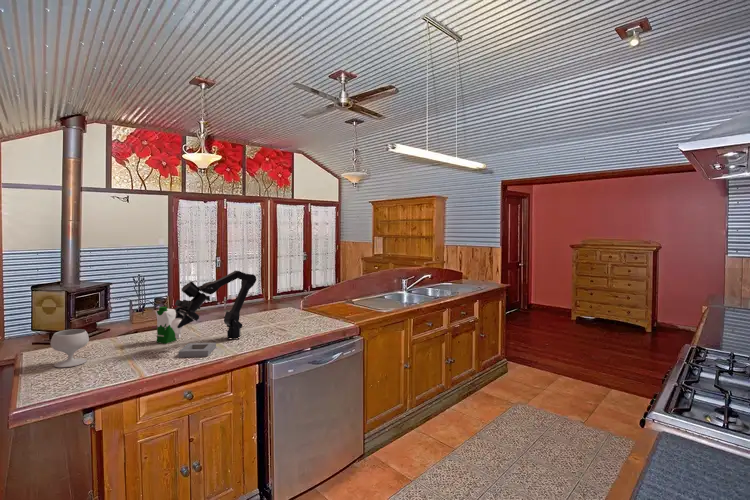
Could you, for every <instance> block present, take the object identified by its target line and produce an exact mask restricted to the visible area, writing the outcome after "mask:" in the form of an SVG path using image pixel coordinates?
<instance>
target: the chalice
mask: <svg viewBox="0 0 750 500" xmlns="http://www.w3.org/2000/svg"><path fill="white" fill-rule="evenodd" d="M89 341H90V337H89V334H88V332H87V331H86V329H84V328H83V329H82V328H74V329H64V330H60V331H57V332H54V333H53V335H52V337H51V339H50V347H51V348H52V349H53V350H55V351H57V352H60V353H64V354H66V355H67V359H65V360H61V361H58V362H56V363H55V364H54V365H53V367H55V368H70V367H76V366H80V365H83V364H85V363H87V362H88V359H87V358H83V357H82V358H81V357H79V358H74V354H75V353H76V352H77V351H79V350H81V349H82V348H84V347H85V346H86V345H88V343H89Z"/></svg>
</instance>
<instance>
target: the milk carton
mask: <svg viewBox="0 0 750 500" xmlns="http://www.w3.org/2000/svg"><path fill="white" fill-rule="evenodd" d="M174 309H175V308H168V306H159V307H158V310H155V311H154V312H155V316H156V331H157V332H156V334H157V335H156V343H157V344H165V345H166V344H169V343H173V342H177V338H175V332H174V330H173V328H172V327H171V322H172V321H173V320H174V319H175V317H176V312H175V310H174Z"/></svg>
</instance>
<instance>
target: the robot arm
mask: <svg viewBox="0 0 750 500" xmlns="http://www.w3.org/2000/svg"><path fill="white" fill-rule="evenodd" d="M237 279H239V280H241V282H240V284H241V285H240V289H239V292H238V293H237V296H236V298H235V300H234V303H233V305H232V307H231V310H229V311H226V312H225V315H224V316H223V322H224V324H225V325H226V327H227V333H226V334H227V335H226V337H227V339H228V338H238V337H240V336H241V337H242V335H241V334H242V333H241V329H242V328H243V323H241V322H240V318H241V317H240V313H241V309H242V307H243V304H244V302H245V300H246V298H247V296H248V293H249V291H250V289H251V288H253V286H254V285H255V284H256V282H257V276H256V275H255V274H253V273H245V272H243V271H241V270H234V271H233V272H231V273H229V274H226V275H225V276H222V277H221V278H218V279H217V280H212V281H208V282H205V283H203V284H202V285H200V286H198V285H196V284H195V282H193V281H189V282H188V283H186V284H185V285H183V286H182V288H181V292H182V293H184V294H185V295H186V296H187V297H188V298H191V299H190V300H187V299H183V300H180V299H176V301H175V304H174V306H176V307H174V308H173V309H174V310H175V312H176V316H175V318H181V319H182V320H181V322H180V323H179V325H178V326H177V328H180V327H182V326H184V327H185V326H186V325H188V324H191V323H192V322H198V320H199V319H200V315H199V314H197V310H200V309H201V306H202V305H203V304H204V303H205V302H206V301H208V302H210V301H211V299H210V298H211V296H210V295H213V294H214V293H216V292H217V291H219V289H220V288H221V287H223V286H225V285H227V284H229V283H231V282H233V281H235V280H237ZM241 337H240V338H241Z"/></svg>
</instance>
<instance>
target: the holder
mask: <svg viewBox="0 0 750 500" xmlns="http://www.w3.org/2000/svg"><path fill="white" fill-rule="evenodd" d="M215 348H216V349H217V342H191V343H190V342H189V343H187V344H186V345H185V346H183V347H182V348H181V349H180V350H179V351H177V352H178V358H204V357H205V358H207V357H206V356H208V357H210V355H211V354H212V353H213V352H214V351H215V350H216V349H215ZM214 349H215V350H214ZM213 350H214V351H213ZM212 351H213V352H212ZM211 352H212V353H211Z"/></svg>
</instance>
